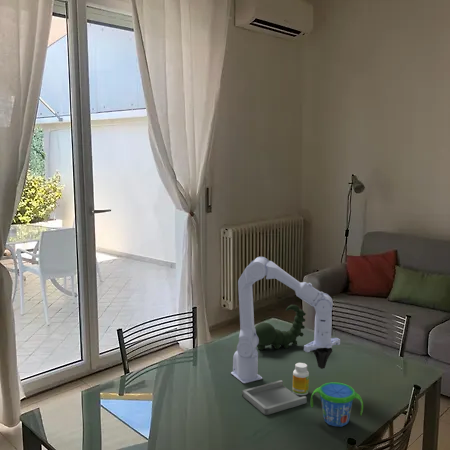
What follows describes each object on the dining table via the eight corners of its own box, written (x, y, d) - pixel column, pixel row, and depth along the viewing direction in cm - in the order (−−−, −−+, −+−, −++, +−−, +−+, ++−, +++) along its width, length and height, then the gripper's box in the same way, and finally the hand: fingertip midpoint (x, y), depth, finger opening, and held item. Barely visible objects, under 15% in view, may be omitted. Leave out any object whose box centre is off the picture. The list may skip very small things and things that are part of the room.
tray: (242, 396, 169) (242, 390, 168) (281, 385, 176) (281, 380, 176) (265, 415, 157) (265, 409, 156) (306, 403, 164) (306, 397, 164)
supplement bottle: (308, 396, 169) (309, 369, 167) (291, 394, 170) (292, 367, 168) (308, 389, 174) (309, 362, 172) (292, 387, 175) (293, 361, 174)
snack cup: (306, 423, 152) (307, 392, 151) (315, 407, 162) (316, 377, 160) (358, 436, 146) (360, 403, 144) (364, 418, 155) (366, 387, 154)
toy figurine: (295, 344, 218) (241, 345, 210) (300, 301, 216) (245, 301, 208) (305, 352, 210) (249, 354, 201) (310, 308, 207) (254, 308, 199)
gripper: (313, 337, 166) (312, 376, 168) (347, 330, 173) (345, 367, 175) (300, 330, 172) (299, 368, 174) (333, 323, 179) (331, 360, 181)
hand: (321, 367), depth 175 cm, fingers closed
